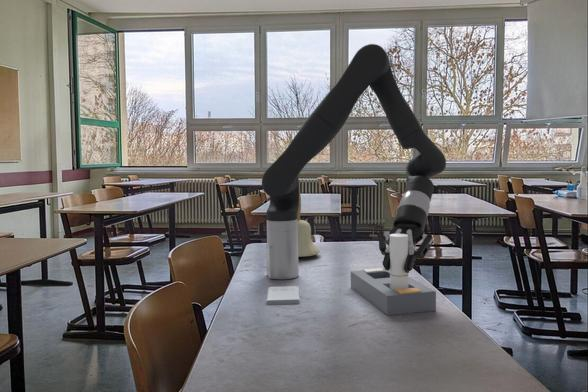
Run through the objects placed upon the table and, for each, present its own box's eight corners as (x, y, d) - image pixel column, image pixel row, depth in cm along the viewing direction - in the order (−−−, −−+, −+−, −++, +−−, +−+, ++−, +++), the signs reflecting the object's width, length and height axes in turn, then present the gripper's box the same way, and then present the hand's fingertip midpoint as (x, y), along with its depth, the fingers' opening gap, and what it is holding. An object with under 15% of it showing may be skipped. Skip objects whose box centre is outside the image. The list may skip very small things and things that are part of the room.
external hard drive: (266, 306, 118) (268, 292, 131) (299, 305, 118) (298, 291, 131) (266, 300, 118) (268, 286, 131) (299, 299, 118) (298, 285, 131)
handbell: (269, 258, 171) (267, 187, 168) (291, 250, 183) (290, 185, 181) (306, 262, 163) (305, 188, 160) (327, 254, 175) (326, 185, 173)
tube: (408, 299, 113) (408, 236, 112) (390, 299, 114) (389, 236, 113) (408, 294, 117) (407, 233, 116) (390, 293, 118) (389, 233, 117)
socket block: (435, 310, 110) (435, 289, 110) (387, 315, 108) (387, 294, 107) (391, 283, 134) (391, 266, 133) (350, 287, 131) (350, 270, 131)
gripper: (382, 202, 124) (363, 258, 114) (437, 204, 116) (422, 264, 107) (389, 220, 129) (372, 275, 119) (443, 223, 121) (429, 282, 112)
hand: (396, 269), depth 113 cm, fingers closed on tube, 4 cm apart
